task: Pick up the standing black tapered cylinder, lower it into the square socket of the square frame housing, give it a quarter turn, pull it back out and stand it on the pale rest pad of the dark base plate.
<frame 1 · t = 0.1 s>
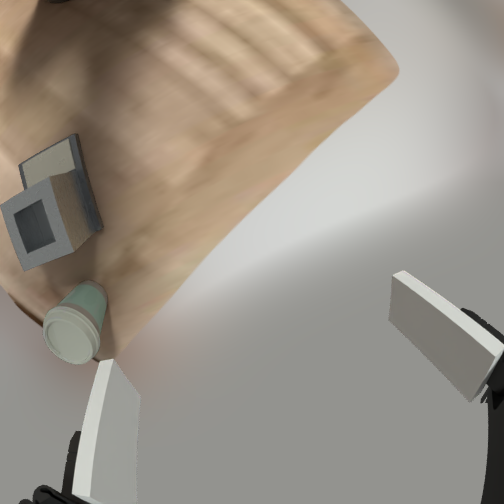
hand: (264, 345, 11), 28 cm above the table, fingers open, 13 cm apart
square frame housing: (59, 193, 31), on the table
coffee cup: (91, 295, 37), on the table
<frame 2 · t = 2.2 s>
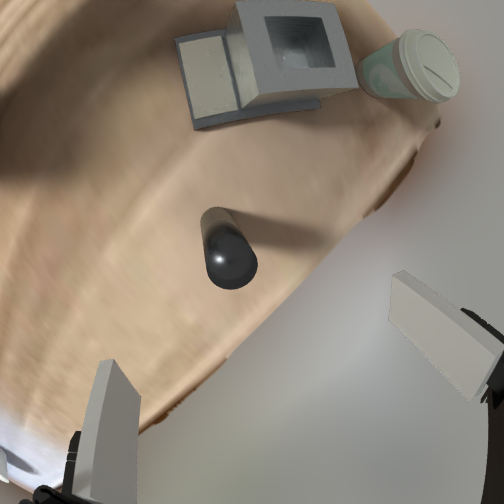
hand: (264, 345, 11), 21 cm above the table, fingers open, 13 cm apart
black tapered cylinder: (216, 222, 30), on the table
square frame housing: (248, 71, 24), on the table
coffee cup: (373, 78, 27), on the table
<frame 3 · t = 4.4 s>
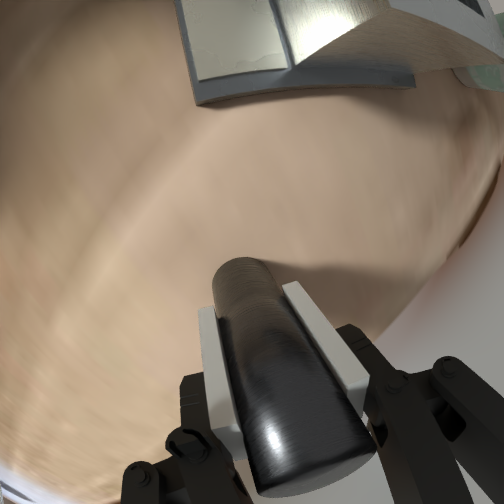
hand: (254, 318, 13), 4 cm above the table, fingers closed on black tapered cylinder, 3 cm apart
black tapered cylinder: (242, 285, 16), on the table, touching gripper
square frame housing: (298, 10, 11), on the table
coffee cup: (459, 59, 13), on the table
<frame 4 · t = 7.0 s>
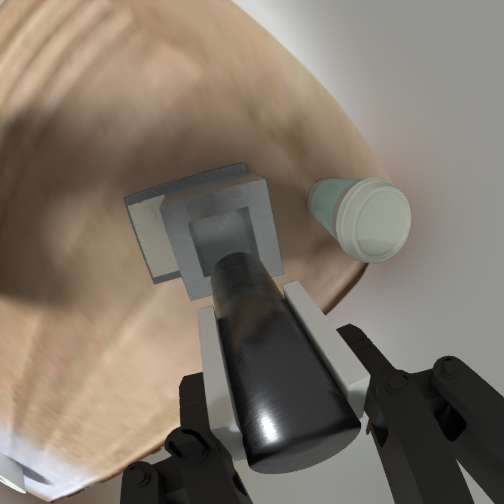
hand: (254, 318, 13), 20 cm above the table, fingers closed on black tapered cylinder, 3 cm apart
black tapered cylinder: (238, 278, 17), point 16 cm above the table, touching gripper
square frame housing: (195, 223, 31), on the table
bowl: (6, 459, 44), on the table
coffee cup: (326, 200, 34), on the table
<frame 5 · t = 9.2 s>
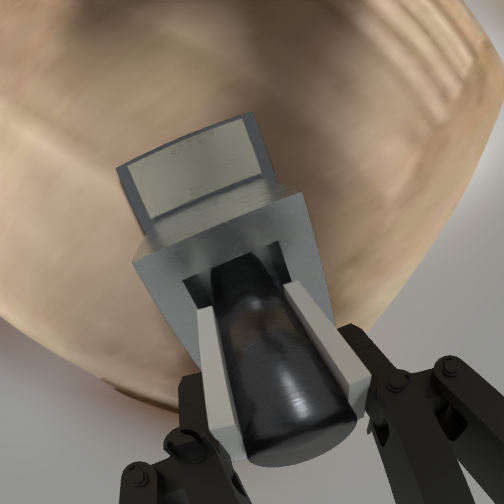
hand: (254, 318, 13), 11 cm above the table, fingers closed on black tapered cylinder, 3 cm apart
black tapered cylinder: (237, 276, 18), point 6 cm above the table, touching gripper
square frame housing: (215, 217, 22), on the table
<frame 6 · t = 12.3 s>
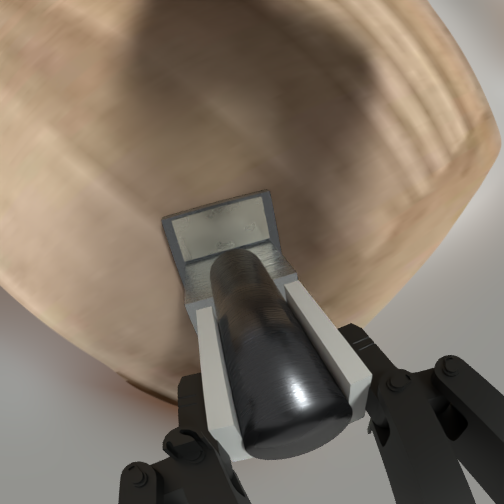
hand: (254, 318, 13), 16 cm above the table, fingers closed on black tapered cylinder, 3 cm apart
black tapered cylinder: (237, 274, 18), point 11 cm above the table, touching gripper
square frame housing: (230, 263, 30), on the table
when the fingers open (6 cm above the table, at t = 14.3 s): black tapered cylinder stays where it is, resting on square frame housing.
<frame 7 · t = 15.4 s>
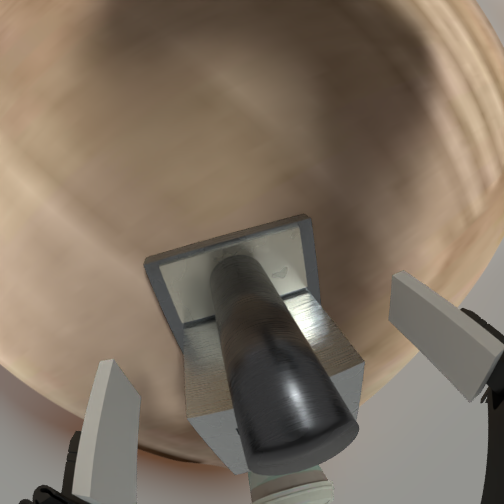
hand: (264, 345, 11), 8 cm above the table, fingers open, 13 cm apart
black tapered cylinder: (237, 281, 17), point 1 cm above the table, touching square frame housing
square frame housing: (248, 319, 20), on the table
coffee cup: (267, 425, 27), on the table
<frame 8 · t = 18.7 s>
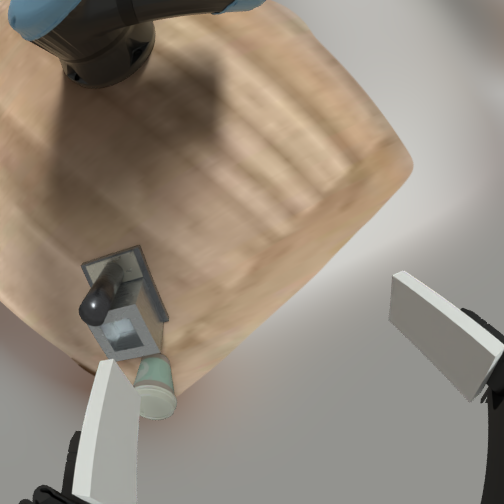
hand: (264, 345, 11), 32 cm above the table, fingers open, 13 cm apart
black tapered cylinder: (113, 272, 39), point 1 cm above the table, touching square frame housing
square frame housing: (125, 291, 42), on the table
coffee cup: (155, 361, 48), on the table
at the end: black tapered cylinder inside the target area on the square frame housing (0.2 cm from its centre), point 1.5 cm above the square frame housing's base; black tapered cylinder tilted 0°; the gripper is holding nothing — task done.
